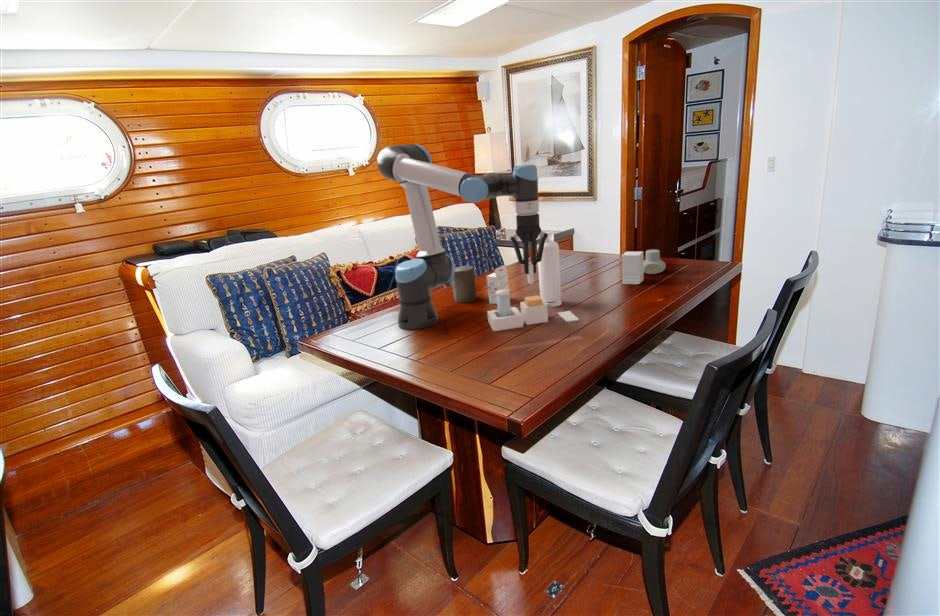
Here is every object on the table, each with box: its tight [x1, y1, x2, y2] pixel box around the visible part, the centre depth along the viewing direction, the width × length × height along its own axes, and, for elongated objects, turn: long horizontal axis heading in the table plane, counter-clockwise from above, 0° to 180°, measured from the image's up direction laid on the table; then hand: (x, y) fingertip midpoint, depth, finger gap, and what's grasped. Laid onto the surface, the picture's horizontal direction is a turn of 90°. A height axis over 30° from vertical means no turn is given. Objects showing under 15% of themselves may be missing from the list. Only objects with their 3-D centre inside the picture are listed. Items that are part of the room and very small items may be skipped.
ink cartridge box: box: [486, 264, 510, 305], centre depth 196 cm, size 9×5×15 cm, turn 143°
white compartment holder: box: [486, 300, 549, 332], centre depth 168 cm, size 20×10×7 cm, turn 98°
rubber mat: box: [557, 310, 580, 323], centre depth 170 cm, size 10×10×1 cm
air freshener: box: [643, 249, 667, 275], centre depth 213 cm, size 11×8×10 cm
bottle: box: [536, 230, 562, 308], centre depth 183 cm, size 8×8×28 cm
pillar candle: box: [451, 265, 478, 304], centre depth 203 cm, size 10×10×15 cm
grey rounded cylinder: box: [496, 289, 511, 317], centre depth 166 cm, size 5×5×12 cm
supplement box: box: [621, 251, 644, 285], centre depth 202 cm, size 7×7×13 cm
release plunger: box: [523, 295, 542, 307], centre depth 168 cm, size 5×5×8 cm
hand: (530, 282), depth 165 cm, fingers closed
